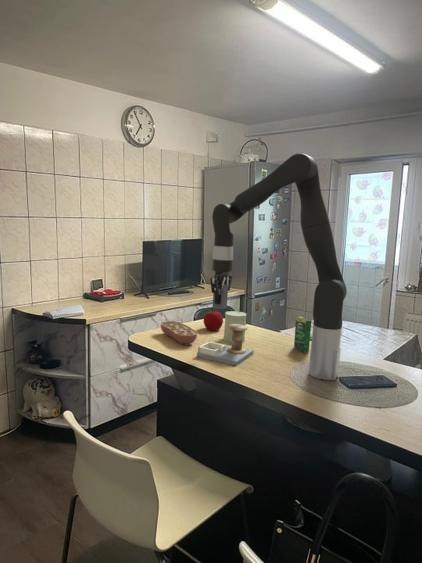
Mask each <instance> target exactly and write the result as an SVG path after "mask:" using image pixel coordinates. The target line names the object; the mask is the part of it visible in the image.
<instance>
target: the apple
mask: <svg viewBox="0 0 422 563" xmlns="http://www.w3.org/2000/svg"><path fill="white" fill-rule="evenodd" d="M223 324H224V316H223V315H222V313H221V312H219V311H214V310H213V309H211V311H207V312H206V313H205V314H204V316H203V325H204V327H205V329H206V330H208V331H218V330H220V329H221V328H222V326H223Z"/></svg>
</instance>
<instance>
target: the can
mask: <svg viewBox="0 0 422 563" xmlns="http://www.w3.org/2000/svg"><path fill="white" fill-rule="evenodd" d="M224 316H225V317H224V331H223V338H222V339H223V341H225V342H228V343H231V344H232V331H233V330H231V329H229V325H231V324H241V325H245V326H247V312H243V311H235V310H233V311H232V310H230V311H225V312H224ZM245 334H246V330H245V331H243V341H242V343H244V342H245V341H246V339H245V338H246V337H245V336H246V335H245Z"/></svg>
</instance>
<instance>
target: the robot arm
mask: <svg viewBox="0 0 422 563" xmlns="http://www.w3.org/2000/svg"><path fill="white" fill-rule="evenodd" d="M319 175H320V174H319V168H318V163H317V161H316V160H315V159H314V158H313V157H312V156H310V155H308V154H305V153H303V152H302V153H301V152H299V153H295V154H293V155H291V156H290V157H288V158H287V159H286V160H285V161H284V162H282V163H281V164H280V165H279V166H278V167H277V168H276V169H275V170H273V171H272V172H271V173H269V174H268V175H267V176H265V177H263V179H261V180H260V181H258V182H256V183H255V184H253V185H252V186H250V187H249V188H247V189H244V190H243V191H242V192H240V193H239V194H237V195H236V196H235V198H234V200H233V201H232V202H230V203H219V204H217V205H216V206H215V207H214V208H213V210H212V216H211V217H212V218H211V219H212V226H213V232H214V240H213V241H214V242H213V244H214V246H213V251H212V270H213V272H215V273H214V277H211V278H210V287H211V288H210V289H211V293H214V294H215V302H214V303H215V304H218V305H219V304H220V303H221V290H222V288H223V285H225V284H228V292H229V291H230V290H231V286H232V281H233V275H230V273H231V272H233V266H234V265H233V264H234V262H233V261H234V237H235V236H234V232H233V230H231V228H230V224H233V223H235V222H237V221H238V220H240V219H241V218H242V217H243V216H245V215H246V214H247V213H248V212H250V211H253V209H255V208H257V207H259V206H260V205H262V204H263V203H264V202H266V201H267V200H268V199H269V198H270V197H272V196H273V194H275V193H276V192H278V191H279V190H281V189H283V188H284V187H286V186H287V187H288V186H289V185H291V184H295V186H296V188H297V192H298V195H299V200H300V226H301V232H302V235H303V240H304V244H305V246H306V248H307V250H308V252H309V255H310V256H311V259H312V261H313V262H314V265H315V268H316V272H317V278H318V284H317V285H316V288H315V289H314V294H313V295H314V296H313V307H312V309H313V310H312V317H313V325H312V333H311V334H312V336H311V342H310V344H311V346H310V353H309V354H310V355H309V363H308V364H309V366H308V375H309V376H311V377H312V378H315V379H317V380H321V379H323V381H333V380H335V381H336V380H337V378H338V375H339V368H340V359H341V358H340V357H341V348H340V346H341V338H342V328H343V307H344V306H343V305H344V300H345V298H346V297H347V294H348V293H347V292H348V290H347V285H346V282H345V280H344V278H343V275H342V272H341V270H340V267H339V262H338V258H337V253H336V252H337V251H336V246H335V241H334V235H333V230H332V226H331V223H330V218H329V215H328V212H327V208H326V205H325V201H324V198H323V194H322V191H321V183H320V182H321V181H320V176H319ZM229 272H230V273H229ZM218 285H221V286H218ZM214 288H215V289H214ZM336 377H337V378H336Z"/></svg>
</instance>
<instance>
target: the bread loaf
mask: <svg viewBox="0 0 422 563" xmlns="http://www.w3.org/2000/svg"><path fill="white" fill-rule="evenodd" d="M160 329H161V331H162V333H164V335H167V336H168V337H171V338H173V339H174V340H175V341H176V342H177V343H179V344H180V345H183V346H188V345H191V344H193V343H194V342H195V341H196V339H197V337H198V332H197V331H196V330H195V329H194V328H192V327H190V326H188V325H186V324H184V323H181V322H177V321H163V322H161V323H160Z"/></svg>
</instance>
